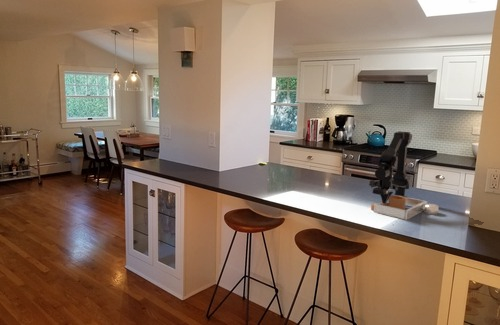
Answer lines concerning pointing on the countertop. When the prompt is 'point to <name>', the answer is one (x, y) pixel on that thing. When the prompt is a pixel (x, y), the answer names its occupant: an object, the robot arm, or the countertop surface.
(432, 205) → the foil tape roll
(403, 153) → the robot arm
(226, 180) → the countertop surface
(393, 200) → the bracket
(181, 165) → the countertop surface
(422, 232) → the countertop surface
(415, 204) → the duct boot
